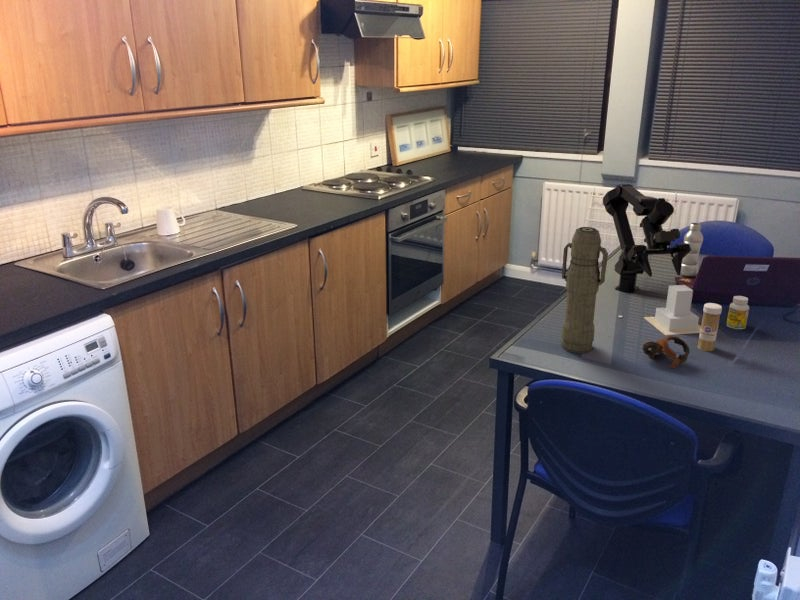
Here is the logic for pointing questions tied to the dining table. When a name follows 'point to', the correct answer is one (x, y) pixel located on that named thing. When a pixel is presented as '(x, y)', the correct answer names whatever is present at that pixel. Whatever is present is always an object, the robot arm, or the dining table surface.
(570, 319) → the thermos
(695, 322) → the cover
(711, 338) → the sprinkles bottle
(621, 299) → the dining table surface
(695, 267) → the plastic bottle
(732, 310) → the supplement bottle
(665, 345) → the pottery mug
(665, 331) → the mat
